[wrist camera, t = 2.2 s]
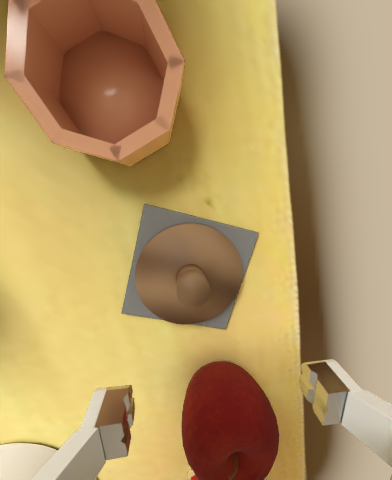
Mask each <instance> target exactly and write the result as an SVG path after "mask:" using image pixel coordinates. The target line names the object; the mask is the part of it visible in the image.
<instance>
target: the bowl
mask: <svg viewBox="0 0 392 480" xmlns="http://www.w3.org/2000/svg"><path fill="white" fill-rule="evenodd" d="M184 65H185V61H184V59H183V57H182V55H181V52H180V50H179V48H178V46H177V44H176V42H175V40H174V38H173V36H172V34H171V32H170V29H169V27H168V25H167V23H166V21H165V19H164V17H163V15H162V13H161V11H160V8H159V6H158V4H157V2H156V0H9V1H8V21H7V40H6V60H5V77H6V79H7V80H8V82H9V83H10V84H11V86H12V87H13V88H14V90H15V91H16V93H17V94H18V95H19V97H20V98H21V100H22V101H23V102H24V104H25V105H26V106H27V108H28V109H29V111H30V112H31V113H32V115H33V116H34V118H35V119H36V120H37V122H38V123H39V124H40V126H41V127H42V129H43V130H44V131H45V133H46V134H47V136H48V137H49V138H50V140H51V141H52V143H54V144H57V145H60V146H63V147H66V148H69V149H72V150H75V151H78V152H81V153H85V154H88V155H92V156H95V157H99V158H102V159H106V160H109V161H113V162H117V163H120V164H124V165H127V166H132V165H134V164H135V163H137V162H139V161H140V160H142V159H144V158H145V157H147V156H149V155H150V154H152V153H154V152H155V151H157V150H158V149H160V148H162V147H163V146H165V145H167V144H168V143H170V138H171V133H172V129H173V124H174V120H175V115H176V111H177V106H178V102H179V97H180V93H181V87H182V80H183V72H184Z"/></svg>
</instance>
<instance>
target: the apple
mask: <svg viewBox="0 0 392 480" xmlns="http://www.w3.org/2000/svg"><path fill="white" fill-rule="evenodd" d="M182 439H183V447H184V450H185V454H186V457H187V460H188V464H189V465H190V467H191V468H192V470H193V472H194V473H195V475H196V476H197V478H198V479H199V480H264V479H265V478H266V476H267V475H268V473H269V472H270V470H271V468H272V466H273V463H274V461H275V458H276V456H277V453H278V443H279V431H278V425H277V420H276V416H275V414H274V411H273V409H272V407H271V404H270V402H269V400H268V398H267V397H266V395H265V393H264V392H263V390H262V389H261V387H260V386H259V385H258V383H257V382H256V381H255V380H254V379H253V378H252V376H251V375H250V374H249V373H248V372H246V371H245V370H244V369H243V368H241V367H240V366H238V365H236V364H233V363H231V362H213V363H210V364H207V365H205V366H203V367H202V368H200V369H199V370H198V371H197V372H196V373H195V374H194V376H193V377H192V379H191V381H190V383H189V385H188V388H187V391H186V396H185V400H184V405H183V412H182Z"/></svg>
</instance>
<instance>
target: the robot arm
mask: <svg viewBox="0 0 392 480" xmlns="http://www.w3.org/2000/svg"><path fill="white" fill-rule="evenodd" d="M301 370H302V372H303V373H302V375H301V376H300V387H301V390H302V392H303V394H304V396H305V398H306V399H307V400H308V401H309V402H311V403H312V404H313V411H314V412H315V414H316V416H317V417H318V419H319V421H320V422H321V424H322V425H332V424H340V423H341V425H342V426H343V427H345V428H346V429H347V430H348V431H350V432H351V433H352V434H353V435H354V436H355V437H357V438H358V439H359V440H360V441H361V442H363V443H364V444H365V445H366V446H368V447H369V448H370V449H371V450H372V451H373V452H375V453H376V454H377V455H378V456H379V457H381V458H382V459H383V460H384V461H385V462H387V463H388V464H389V465H390V466H391V467H392V404H390V403H388V402H386V401H385V400H383V399H380V398H379V397H378V396H376V395H374V394H372V393H370V392H369V391H367V390H362V389H361V388H360V387H359V386H358V385H357V384H356V383H355V382H354V380H353V379H352V378H351V377H350V376H349V375H348V374H347V373H346V372H345V371H344V369H343V368H342V367H341V366H340V365H339V364H338V363H337V362H336V361H335V360H333V359H330V360H322V361H313V362H306V363H303V364H302V365H301ZM132 391H133V390H132V385H125V386H115V387H106V388H97V389H96V390H95V391H94V393H93V396H92V398H91V401H90V404H89V407H88V409H87V412H86V415H85V417H84V420H83V423H82V425H81V428H80V430H77V431H75V432H74V433H73V434H72V436H71V437H70V438H69V439H68V440H67V441H66V442H65V443H64V444H63V445H62V447H61V448H60V449H59V450H56V449H53V448H50V447H47V446H43V445H38V444H31V443H11V444H3V445H0V480H97V479H96V477H97V475H98V474H99V472H100V471H101V469H102V467H103V466H104V464H105V462H106V461H105V460H110V459H115V458H121V457H126V456H128V451H129V445H130V439H131V434H130V428H131V426H132V425H133V420H134V410H135V406H134V398H133V397H132ZM390 480H392V476H391V479H390Z"/></svg>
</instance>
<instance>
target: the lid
mask: <svg viewBox="0 0 392 480" xmlns="http://www.w3.org/2000/svg"><path fill="white" fill-rule="evenodd" d="M242 275H243V270H242V262H241V258H240V255H239V253H238V251H237V249H236V248H235V246H234V245H233V243H232V242H231V241H230V240H229V239H228V238H227V237H226V236H225V235H224V234H222V233H221V232H220V231H218V230H217V229H215V228H212V227H210V226H207V225H204V224H199V223H181V224H176V225H173V226H170V227H167V228H165V229H164V230H162V231H160V232H159V233H157V234H156V235H155V236H153V237H152V238H151V239H150V240H149V241H148V243H147V244H146V245H145V247H144V248H143V250H142V252H141V254H140V256H139V258H138V261H137V265H136V269H135V285H136V289H137V292H138V295H139V297H140V299H141V301H142V302H143V304H144V305H145V306H146V307H147V308H148V310H150V311H151V312H152V313H153V314H154V315H156V316H158V317H159V318H161V319H163V320H166V321H168V322H172V323H176V324H195V323H200V322H204V321H207V320H209V319H211V318H213V317H215V316H217V315H218V314H220V313H221V312H223V311H224V310H225V309H226V308H227V307H228V306H229V305H230V304H231V303H232V301H233V300H234V299H235V297H236V295H237V293H238V291H239V288H240V285H241V282H242Z"/></svg>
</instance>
